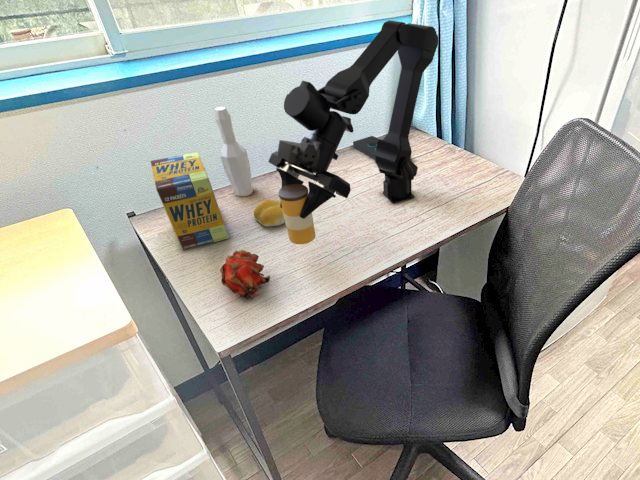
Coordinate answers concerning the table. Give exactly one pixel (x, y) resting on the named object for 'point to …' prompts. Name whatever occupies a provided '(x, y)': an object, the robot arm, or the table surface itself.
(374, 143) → the smart home device
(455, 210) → the table surface
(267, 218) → the bread roll
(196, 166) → the protein box
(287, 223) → the tube
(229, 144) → the low poly bottle
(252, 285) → the dragon fruit
